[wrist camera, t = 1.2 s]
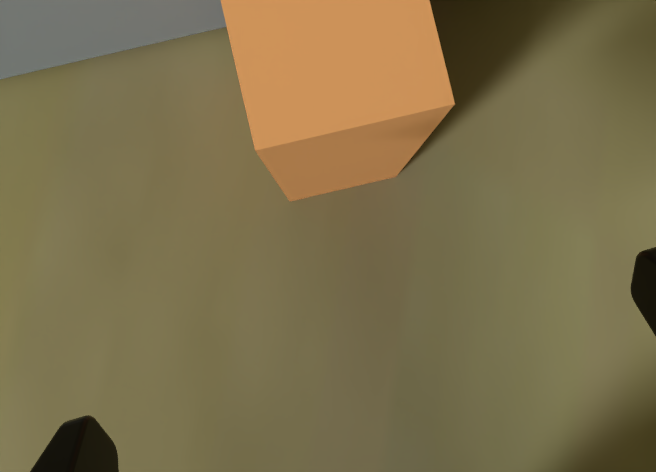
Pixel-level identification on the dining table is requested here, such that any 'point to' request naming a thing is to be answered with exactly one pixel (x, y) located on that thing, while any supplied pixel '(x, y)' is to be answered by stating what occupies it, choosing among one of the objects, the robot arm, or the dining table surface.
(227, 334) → the dining table surface
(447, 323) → the dining table surface
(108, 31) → the door
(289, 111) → the tan rectangular slab
